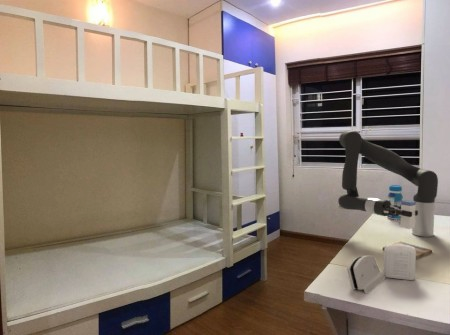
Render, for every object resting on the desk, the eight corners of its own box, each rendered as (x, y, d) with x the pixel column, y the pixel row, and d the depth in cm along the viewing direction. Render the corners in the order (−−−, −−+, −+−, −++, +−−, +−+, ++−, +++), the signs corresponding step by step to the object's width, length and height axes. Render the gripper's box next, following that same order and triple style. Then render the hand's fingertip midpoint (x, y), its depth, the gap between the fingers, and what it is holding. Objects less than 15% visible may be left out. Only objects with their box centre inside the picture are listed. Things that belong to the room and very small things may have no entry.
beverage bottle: (401, 220, 194) (402, 187, 192) (386, 218, 198) (386, 186, 196) (402, 217, 201) (403, 185, 199) (387, 215, 205) (388, 184, 203)
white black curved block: (366, 294, 106) (356, 263, 107) (352, 294, 109) (343, 264, 111) (385, 277, 117) (376, 250, 119) (373, 278, 121) (364, 251, 122)
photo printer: (413, 276, 118) (414, 243, 117) (416, 281, 114) (417, 247, 113) (382, 273, 121) (383, 241, 120) (384, 278, 117) (385, 245, 116)
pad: (400, 243, 153) (400, 241, 153) (432, 252, 141) (432, 249, 141) (382, 249, 146) (382, 247, 145) (414, 259, 134) (414, 256, 133)
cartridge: (405, 225, 145) (406, 200, 144) (414, 227, 141) (415, 201, 140) (400, 226, 143) (401, 201, 142) (409, 229, 139) (410, 202, 138)
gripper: (368, 200, 150) (405, 207, 135) (387, 197, 157) (424, 203, 142) (368, 216, 150) (404, 225, 136) (386, 212, 158) (423, 219, 143)
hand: (414, 213), depth 139 cm, fingers closed on cartridge, 4 cm apart
